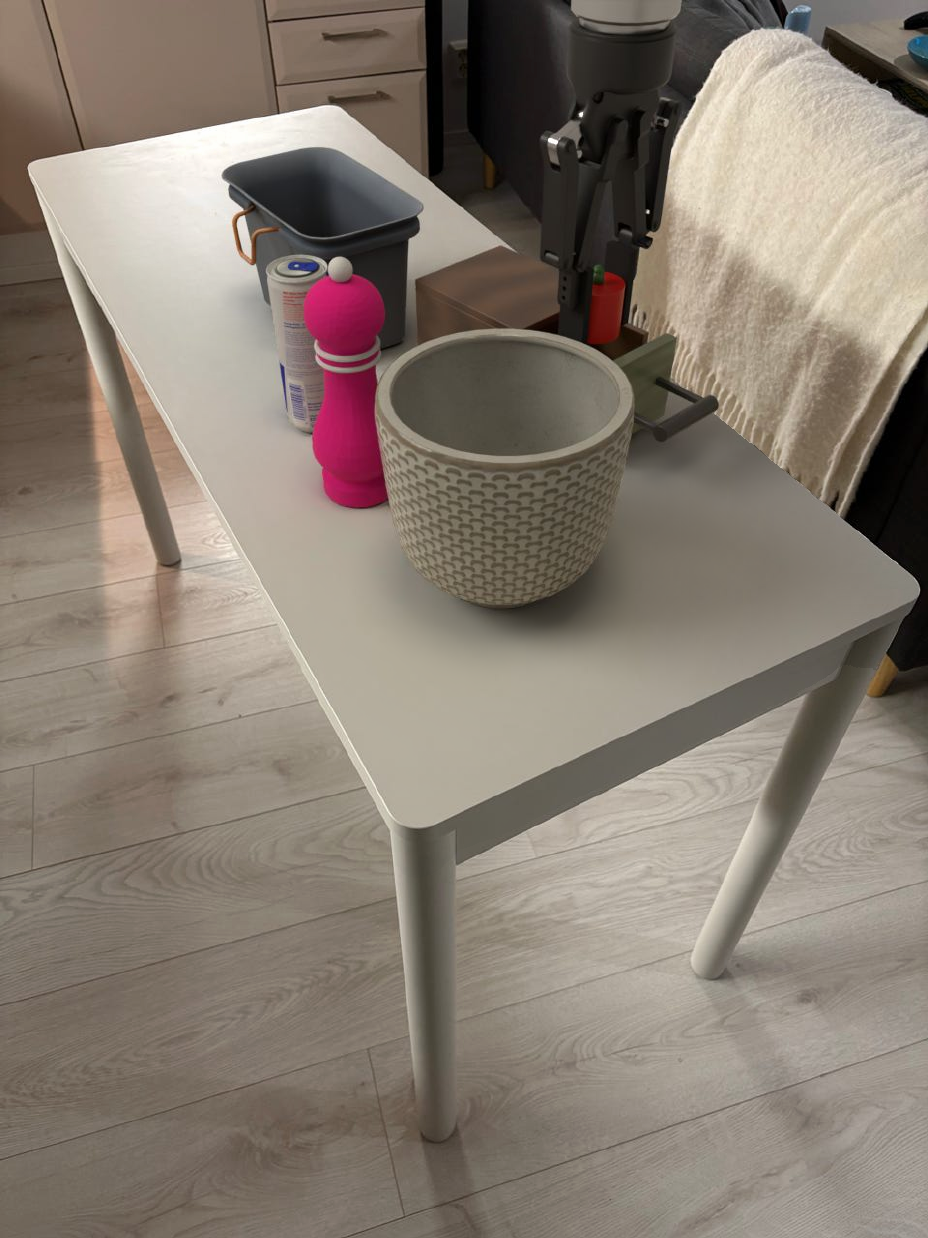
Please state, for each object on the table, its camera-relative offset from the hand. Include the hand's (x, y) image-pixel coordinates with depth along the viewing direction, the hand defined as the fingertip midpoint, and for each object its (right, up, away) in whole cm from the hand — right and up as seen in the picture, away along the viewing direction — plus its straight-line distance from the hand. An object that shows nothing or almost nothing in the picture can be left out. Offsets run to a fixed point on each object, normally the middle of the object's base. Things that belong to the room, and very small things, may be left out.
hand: (593, 328), depth 84 cm
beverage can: (-25, -7, +7) cm, 27 cm away
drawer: (+1, -7, +5) cm, 9 cm away
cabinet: (-7, -1, +12) cm, 14 cm away
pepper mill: (-20, -14, -1) cm, 24 cm away
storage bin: (-26, +6, +20) cm, 33 cm away
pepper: (0, 0, 0) cm, 0 cm away
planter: (-8, -22, -9) cm, 25 cm away
